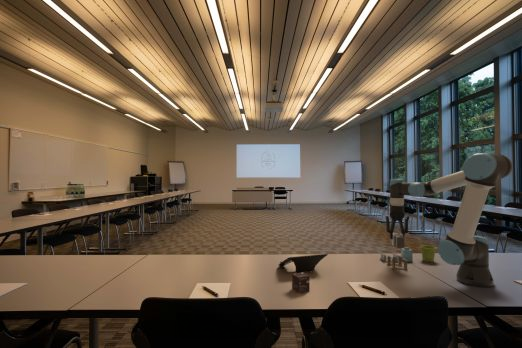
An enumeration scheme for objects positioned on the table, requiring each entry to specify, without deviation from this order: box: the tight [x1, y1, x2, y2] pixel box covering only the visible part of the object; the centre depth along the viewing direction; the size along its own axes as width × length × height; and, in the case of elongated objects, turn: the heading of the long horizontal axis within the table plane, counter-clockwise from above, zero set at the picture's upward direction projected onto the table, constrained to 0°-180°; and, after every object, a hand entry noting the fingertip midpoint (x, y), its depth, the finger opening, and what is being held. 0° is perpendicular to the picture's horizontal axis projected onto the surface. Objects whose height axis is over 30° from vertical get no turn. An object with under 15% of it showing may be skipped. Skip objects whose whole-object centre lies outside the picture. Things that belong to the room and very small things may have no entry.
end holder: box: [380, 252, 400, 263], centre depth 189 cm, size 8×8×4 cm
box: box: [291, 272, 310, 294], centre depth 138 cm, size 6×6×7 cm
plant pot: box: [419, 244, 438, 263], centre depth 188 cm, size 9×9×9 cm
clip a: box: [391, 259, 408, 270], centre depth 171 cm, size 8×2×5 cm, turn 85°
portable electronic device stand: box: [278, 253, 329, 273], centre depth 168 cm, size 23×23×9 cm
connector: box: [400, 246, 414, 263], centre depth 189 cm, size 5×5×8 cm
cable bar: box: [389, 232, 405, 249], centre depth 176 cm, size 4×12×6 cm, turn 175°
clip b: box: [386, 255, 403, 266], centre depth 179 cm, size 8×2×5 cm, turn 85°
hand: (397, 244), depth 176 cm, fingers closed on cable bar, 4 cm apart
